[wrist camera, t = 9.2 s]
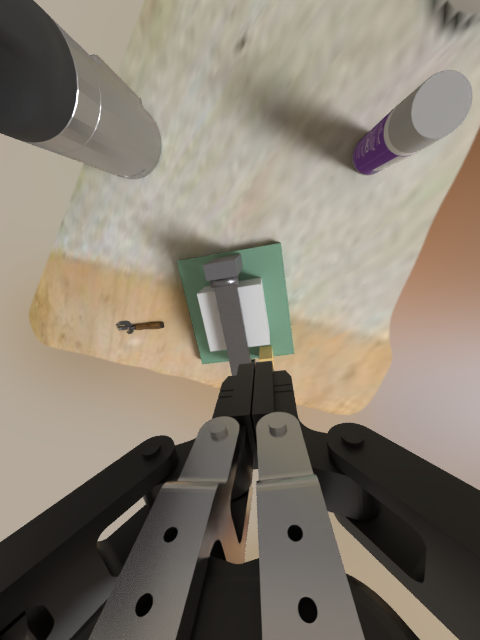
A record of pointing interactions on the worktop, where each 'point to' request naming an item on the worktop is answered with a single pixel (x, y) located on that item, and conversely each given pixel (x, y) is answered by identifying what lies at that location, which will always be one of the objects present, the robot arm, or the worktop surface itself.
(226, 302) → the strap
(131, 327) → the can opener
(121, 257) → the worktop surface
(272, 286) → the cpu board
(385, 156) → the container
